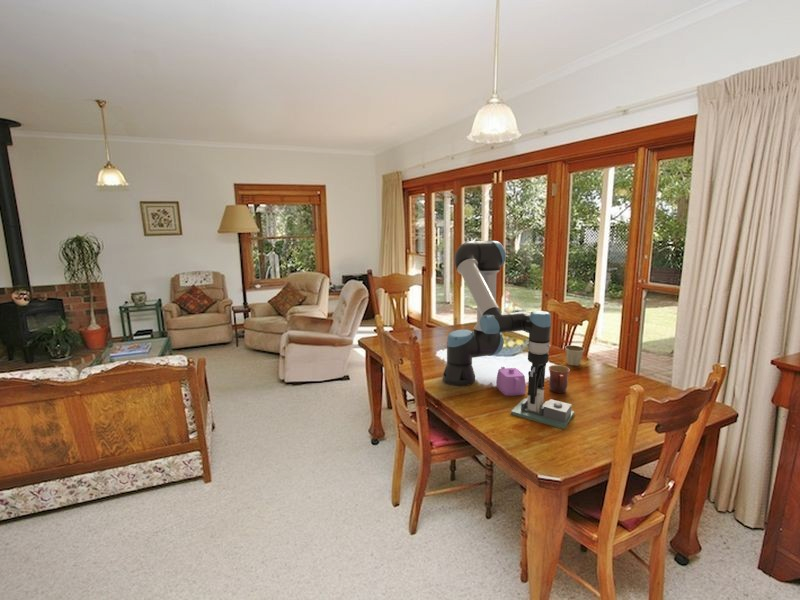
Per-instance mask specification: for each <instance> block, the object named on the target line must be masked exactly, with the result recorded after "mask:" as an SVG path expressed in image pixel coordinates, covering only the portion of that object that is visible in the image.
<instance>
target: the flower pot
mask: <svg viewBox="0 0 800 600" xmlns="http://www.w3.org/2000/svg"><path fill="white" fill-rule="evenodd" d="M564 349H565V353H566V363H567V365H570V366H575V367H578V366H580V365H581V362H582V361H581V360H582V357H583V353H584V351H585V348H584V347H582V346H580V345H579V346H578V345H572V344H571V345H570V344H569V345H565V346H564Z"/></svg>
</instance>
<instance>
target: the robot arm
mask: <svg viewBox="0 0 800 600" xmlns="http://www.w3.org/2000/svg"><path fill="white" fill-rule="evenodd" d="M506 256H507V255H506V249H505V247H504V246H503V244H502V243H501V242H500V241H497V240H478V241H476V240H475V241H472V240H470V241H466V242H464V243H462V244H460V245H459V247H458V248H457V250H456V251H455V254H454V260H453V261H454V266H455V269H456V271H457V273H458V274H459V275H461V276H462V278H463V281H464V283H465V285H466V286H467V288H468V291H469V292H470V294H471V296H472V298H473V301H474V303H475V305H476V324H475V326H473V331H472V330H470V329H466V328H465V329H456V330H453V331H451V332H450V333H449V334H448V335H447V340H446V366H445V367H444V371H443V374H442V381H443V382H444V383H446V384H449V385H451V386H456V387H457V386H459V387H466V386H470V385H472V384H474V383H475V382H476V374H475V371H474V367H473V358H479V357H487V356H489V357H490V356H495V355H497V354H500V353H501V352H502V350H503V348H504V343H505V342H504V337H503V333H512V332H520V331H522V332H526V333H527V334H528V346H527V350H528V352H527V360H528V362H529V363H531V366H530V370H529V371H528V374H527V375H528V382H527V383H528V385H527V387H528V388H527V393H526V394H527V396H528V395H530V401H529V410H531V411H535V412H536V411H537V388H538V387H540V388H544V390H545V380H546V379H545V377H546V367H547V363H548V362H549V359H550V358H549V356H550V353H549V351H550V348H551V344H550V339H551V329H552V328H551V326H552V314H551V313H550V312H549V311H545V310H533V311H531V312H528V311H526V310H523V309H517V308H516V309H514V310H513V311H511V312H504V313H503V312H502V311H501V309H500V306H499V305H498V303H497V274H498V273H499V272H500V271H501V266H503V265H504V264H505V262H506Z"/></svg>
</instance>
